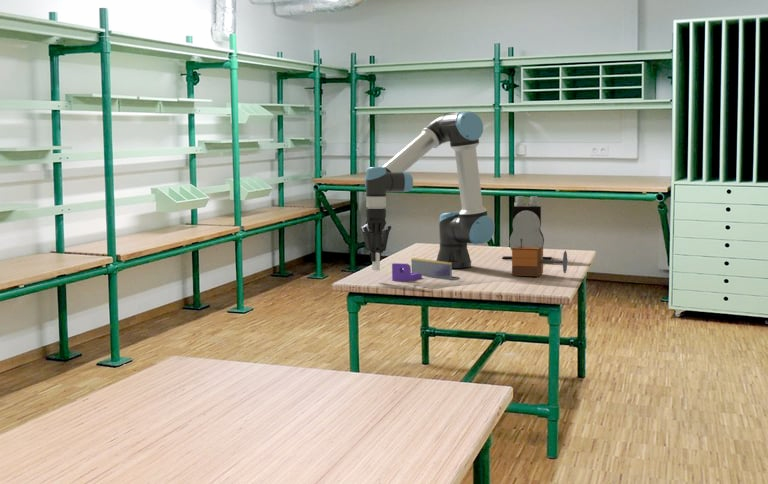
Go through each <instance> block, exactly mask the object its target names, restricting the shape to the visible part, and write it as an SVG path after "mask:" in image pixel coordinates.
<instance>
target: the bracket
mask: <svg viewBox="0 0 768 484" xmlns="http://www.w3.org/2000/svg"><path fill="white" fill-rule="evenodd" d="M391 273H392V275H391V279H392V280H391V281H393V282H409V283H410V282H411V281H416V280H418V279H419V280H420V279H423V276H422V275H421V274H420V273H412V266H411V265H410V264H409V263H400V262H399V263H398V262H397V263H396V262H395V263H391Z"/></svg>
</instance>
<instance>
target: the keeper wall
mask: <svg viewBox="0 0 768 484" xmlns="http://www.w3.org/2000/svg"><path fill="white" fill-rule="evenodd" d="M452 269H453V268H452V263H451V262H443V261H436V260H433V259H426V258H417V257H411V273H420V274H421V275H422V277H427V278H433V279H442V280H447V281H452V280H453V281H454V280H460V279H461V277H459V276H453V270H452Z"/></svg>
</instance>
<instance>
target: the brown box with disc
mask: <svg viewBox="0 0 768 484" xmlns="http://www.w3.org/2000/svg"><path fill="white" fill-rule="evenodd" d="M522 240H523V239H520V241H521V246H517V247H514V248H512V250H511V256H512V260H511V275H512V276H521V277H522V276H523V277H524V276H525V277H539V276H541V275H542V273H543V274H544V264H545V265H546V264H548V265H549V264H550V265H552V264H562V269H563V270H562V271H563V273H564V274H566V273H567V270H568V252H567V250H564V252H563V254H562V255H563V256H562V260H561V259H560V260H558V259H557V260H556V259H555V260H554V259H552V260H549V259H543V257H544V246H543V247H536V246H522Z"/></svg>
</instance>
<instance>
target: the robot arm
mask: <svg viewBox="0 0 768 484" xmlns="http://www.w3.org/2000/svg"><path fill="white" fill-rule="evenodd" d="M483 133H484V124H483V121H482V119H481V117H480V116H479V115H478V114H477V113H476V112H473V111H469V110H467V111H466V110H463V111H457V112H456V111H455V112H446V113H443V114H441V115H439V116H437V117H436V118H434V119H433V120H431V121H430V122H429V123H428V124H427V125H425V127H423V128H422V129H421V130H420V133H419V135H418V136H416V137H415V138H414V139H413V140H412V141H410V142H409V143H408V144H407V145H405V147H403V148H402V149H401V150H400V151H399V152H398V153H396V154H395V155H394V156H393V157H391V159H390V160H388V161H387V162H386V163H385V164H384V165H382V166H370V167H367V168H366V174H365V177H364V185H365V192H366V193H365V196H366V197H365V204H366V205H365V207H366V209H365V217H366V222H365V224H363V226H360V230H361V233H362V236H363V240H364V246H365V250H366V252H368V253H370V261H371V262H372V267H371V268H372V271H380V265H381V264H380V263H381V261H382V254H383V253H384V252H385V251H386V250H387V245H388V240H389V235H390V234H389V233H390V232H391V229H392V226H391V225H388V224H387V221H386V218H387V210H386V207H387V193H405V192H406V193H407V192H411V190H412V188H413V186H414V178H413V175H412V174H410V172H407V171H408V170H409V169H410V168H411V167H412V166H414V164H416V162H418V161H420V160H421V159H422V157H424V156H425V155H426V154H427V153H428V152H430V151H431V150H432V149H437V148H439V146H441V145H442V144H445V143H447V142H449V146H450V148H451V149H452V150H454V155H455V156H454V157H455V163H456V172H457V173H456V174H457V180H458V187H459V195H460V204H461V209H460V210H459V211H451V212H443V213H441V214H440V215H439V222H438V225H439V228H438V229H439V230H438V231H439V250H438V253H437V257H436V259H435V261H443V262H451V263H452V269H462V268H464V269H465V268H470V267H472V259H471V258H470V254H469V253H470V252H469V250H468V244H472V245H483V244H487V243H488V242H489V241H490V240H491V239H492V237H493V236H494V232H495V230H496V229H495V222H494V220H493V219H492V218H491V217H490V216H489V215H488V209H487V208H486V207H484V205H483V197H482V196H483V195H482V190H481V181H480V180H481V179H480V171H479V163H478V156H477V147H478V146H479V144H480V140H479V139H480V138H481V137H482V136H483Z"/></svg>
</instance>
